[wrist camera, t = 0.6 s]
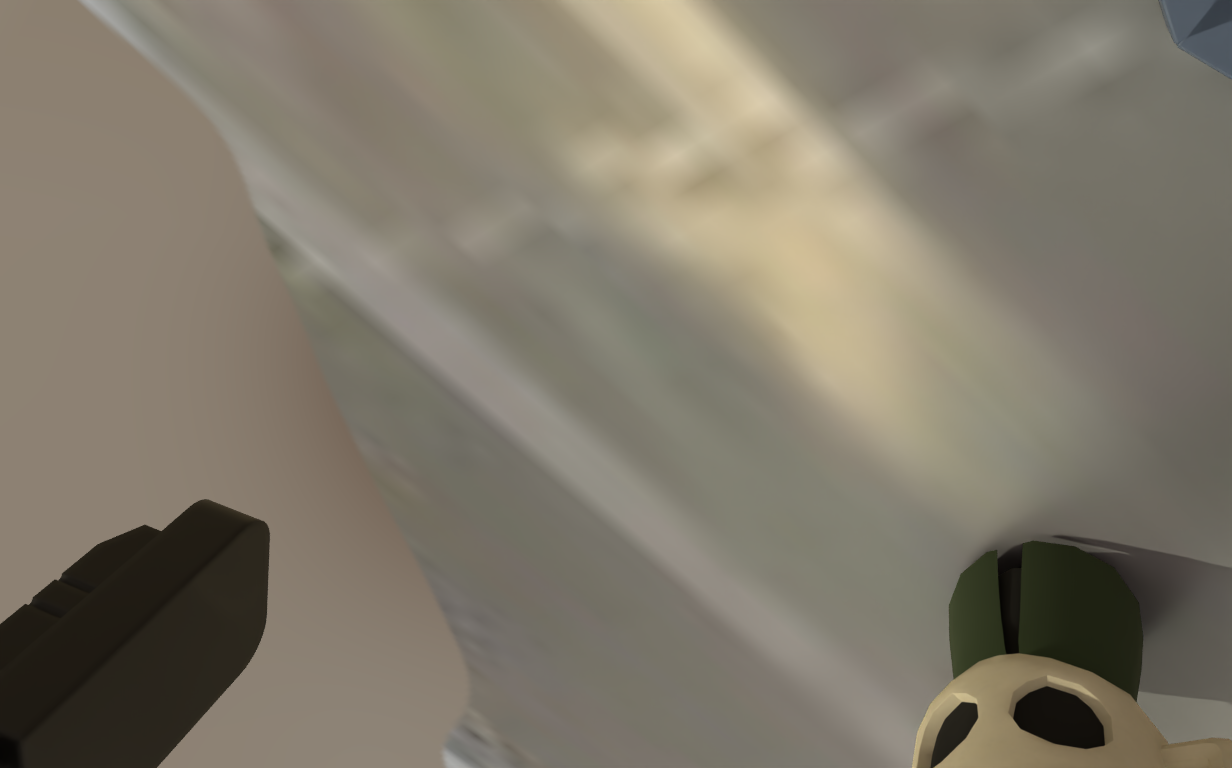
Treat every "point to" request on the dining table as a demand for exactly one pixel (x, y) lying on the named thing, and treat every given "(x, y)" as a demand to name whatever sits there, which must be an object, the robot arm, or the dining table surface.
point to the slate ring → (1202, 30)
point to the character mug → (1048, 673)
